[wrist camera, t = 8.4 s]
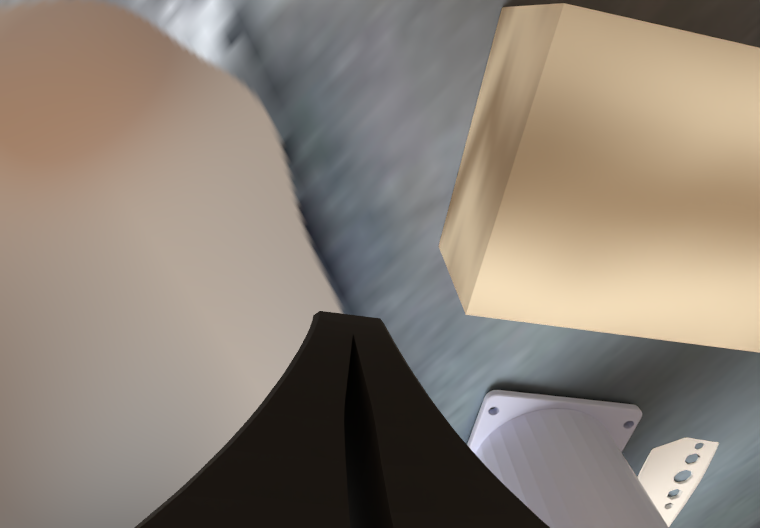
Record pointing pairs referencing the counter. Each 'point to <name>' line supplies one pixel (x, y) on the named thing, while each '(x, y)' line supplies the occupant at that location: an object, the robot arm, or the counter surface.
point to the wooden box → (612, 180)
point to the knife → (664, 468)
